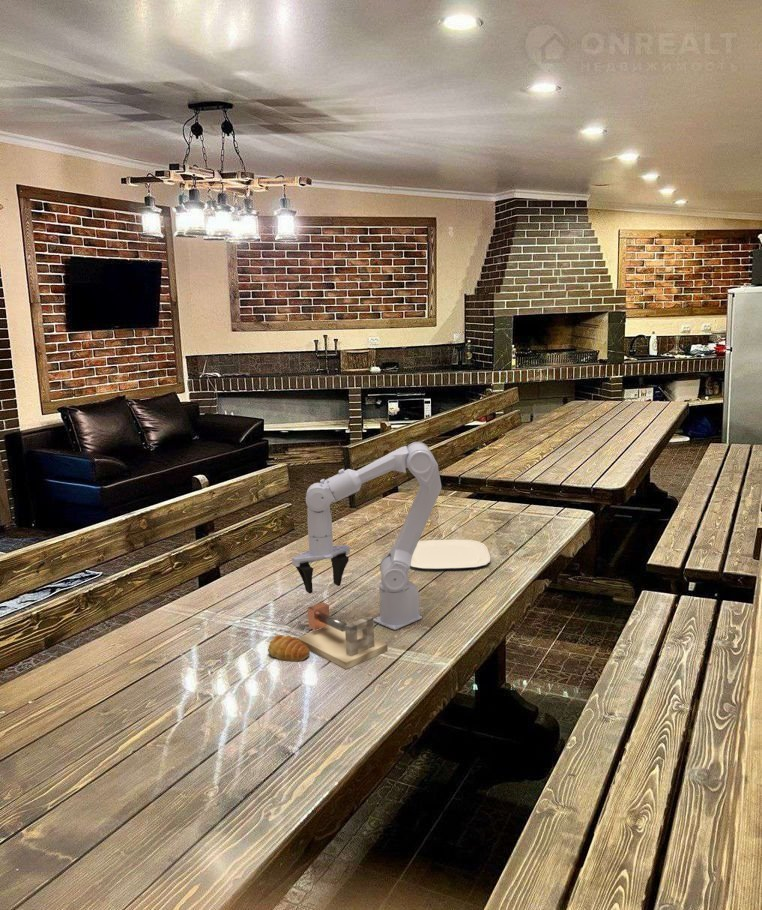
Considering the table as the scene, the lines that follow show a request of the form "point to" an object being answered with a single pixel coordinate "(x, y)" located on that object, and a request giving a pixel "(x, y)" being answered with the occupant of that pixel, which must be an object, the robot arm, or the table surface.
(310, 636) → the latch board
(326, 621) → the bolt
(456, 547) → the plate
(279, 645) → the pastry
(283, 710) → the table surface
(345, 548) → the robot arm
